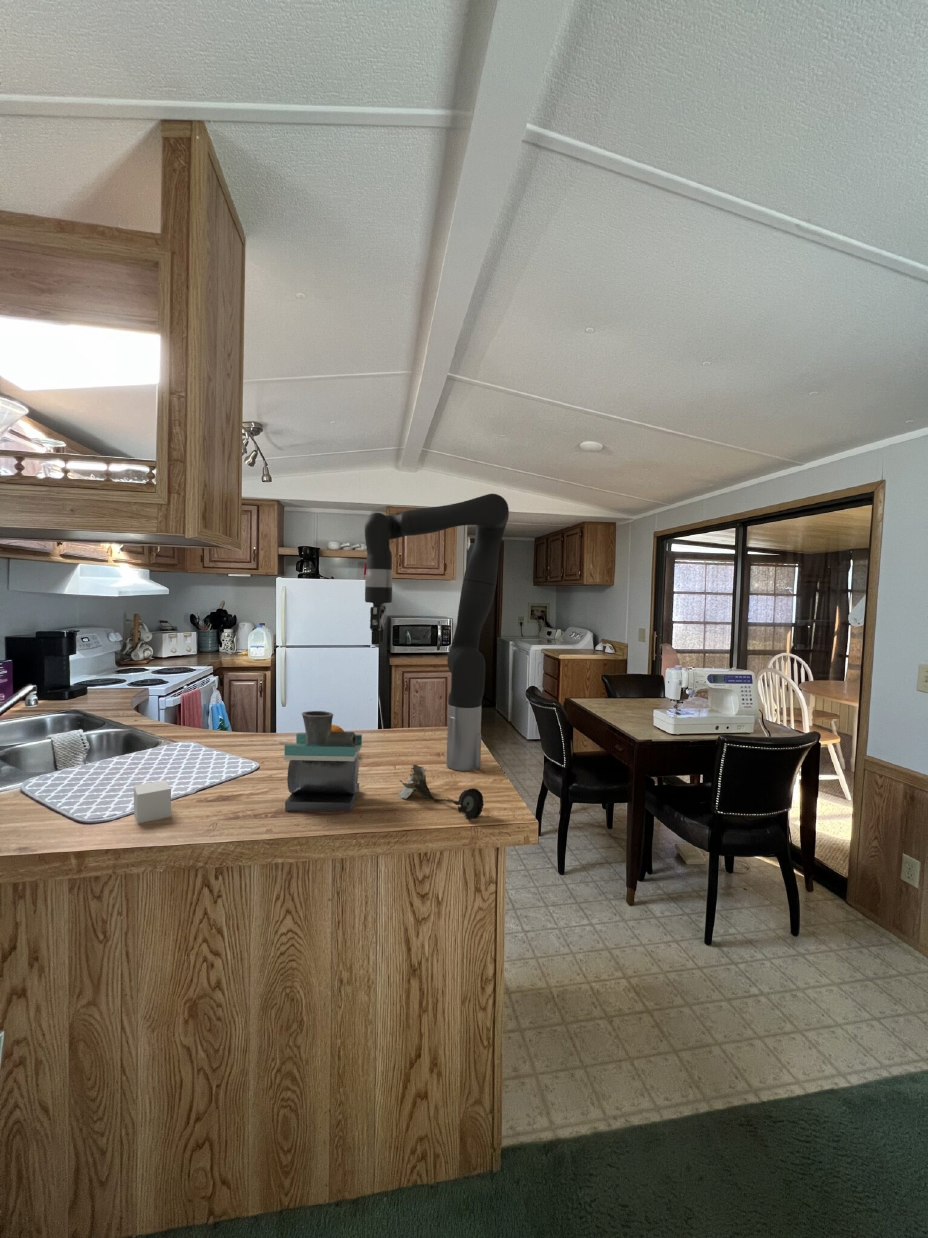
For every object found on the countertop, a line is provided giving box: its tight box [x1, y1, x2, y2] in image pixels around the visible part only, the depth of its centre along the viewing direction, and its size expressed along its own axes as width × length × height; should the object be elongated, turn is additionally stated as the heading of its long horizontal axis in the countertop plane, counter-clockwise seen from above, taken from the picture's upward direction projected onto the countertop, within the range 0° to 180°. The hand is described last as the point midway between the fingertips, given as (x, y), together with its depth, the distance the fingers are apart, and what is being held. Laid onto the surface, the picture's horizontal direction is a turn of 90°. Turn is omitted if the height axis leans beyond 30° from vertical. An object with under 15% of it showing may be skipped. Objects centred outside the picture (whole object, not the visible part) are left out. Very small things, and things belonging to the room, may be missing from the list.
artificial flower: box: [396, 764, 485, 822], centre depth 121 cm, size 9×22×10 cm, turn 44°
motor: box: [283, 732, 363, 813], centre depth 121 cm, size 15×12×14 cm
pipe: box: [301, 710, 357, 746], centre depth 121 cm, size 6×13×8 cm, turn 80°
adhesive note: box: [133, 779, 172, 825], centre depth 111 cm, size 6×6×6 cm
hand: (377, 643), depth 151 cm, fingers open, 8 cm apart
